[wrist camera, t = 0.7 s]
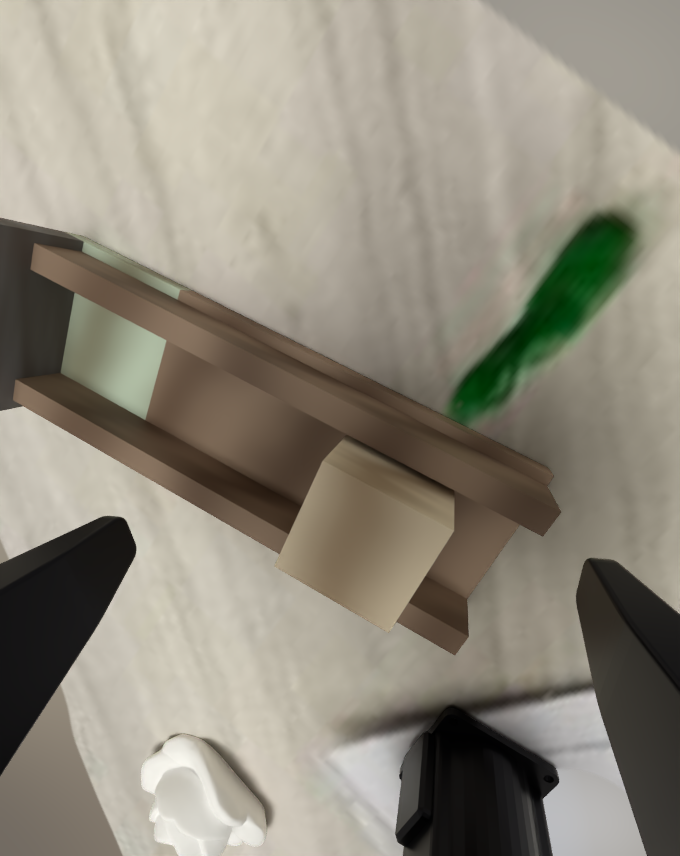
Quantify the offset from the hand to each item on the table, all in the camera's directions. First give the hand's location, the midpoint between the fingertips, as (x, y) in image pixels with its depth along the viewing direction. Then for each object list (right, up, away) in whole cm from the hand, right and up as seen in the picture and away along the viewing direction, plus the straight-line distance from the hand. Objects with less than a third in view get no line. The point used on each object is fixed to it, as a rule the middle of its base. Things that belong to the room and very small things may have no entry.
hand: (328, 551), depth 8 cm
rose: (-9, -24, +23) cm, 34 cm away
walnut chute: (-4, +3, +13) cm, 14 cm away
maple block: (+2, -1, +11) cm, 12 cm away
